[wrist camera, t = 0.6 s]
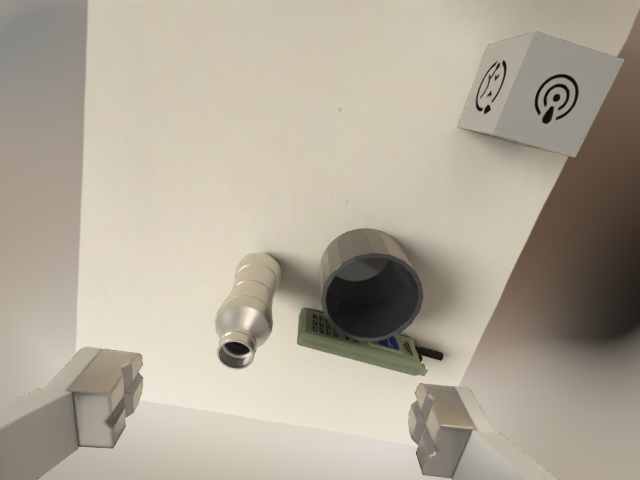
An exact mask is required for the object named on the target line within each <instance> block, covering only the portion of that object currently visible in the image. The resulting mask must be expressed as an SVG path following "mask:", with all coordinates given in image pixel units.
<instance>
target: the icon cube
mask: <svg viewBox="0 0 640 480" xmlns="http://www.w3.org/2000/svg"><path fill="white" fill-rule="evenodd" d="M623 62H624V59H621V58H618V57H615V56H612V55H609V54H605V53H602V52H599V51H596V50H593V49H590V48H587V47H584V46H581V45H578V44H575V43H571V42H568V41H565V40H562V39H559V38H556V37H553V36H550V35H547V34H544V33H541V32H537V31H533V32H530V33H526V34H523V35H519V36H516V37H513V38H509V39H506V40H502V41H499V42H495V43H492V44H488V47H487V49H486V52H485V54H484V57H483V60H482V62H481V65H480V68H479V70H478V73H477V76H476V78H475V81H474V83H473V86H472V89H471V91H470V94H469V97H468V99H467V102H466V105H465V107H464V110H463V112H462V115H461V118H460V120H459V123H458V126H457V127H460V128H463V129H467V130H470V131H474V132H477V133H481V134H485V135H488V136H492V137H495V138H499V139H502V140H506V141H509V142H513V143H517V144H520V145H524V146H528V147H532V148H536V149H541V150H545V151H549V152H554V153H558V154H563V155H567V156H571V157H576V155H577V153H578V151H579V149H580V147H581V145H582V143H583V141H584V139H585V137H586V135H587V133H588V131H589V129H590V127H591V125H592V123H593V121H594V119H595V117H596V115H597V113H598V111H599V110H600V108H601V106H602V104H603V101H604V100H605V98H606V96H607V94H608V92H609V90H610V88H611V86H612V84H613V82H614V80H615V78H616V76H617V74H618V72H619V70H620V68H621V66H622V64H623Z"/></svg>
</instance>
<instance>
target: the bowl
mask: <svg viewBox="0 0 640 480" xmlns="http://www.w3.org/2000/svg"><path fill="white" fill-rule="evenodd" d="M320 290H321V304H322V308H323V313H324V316H325V317H326V319H327V320H328V322H329V323H330V325H331V326H332V327H333V328H334V329H335V330H337V331H338V332H339V333H340V334H342V335H343V336H346V337H349V338H351V339H354V340H358V341H369V342H372V341H378V340H384V339H387V338H390V337H392V336H394V335H396V334H398V333H400V332H402V331H403V330H404V329H405V328H406V327H408V326H409V325H410V324H411V323H412V322H413V320H414V319H415V317H416V316H417V314H418V313H419V311H420V308H421V304H422V300H423V291H422V283H421V281H420V279H419V277H418V275H417V273H416V271H415V269H414V268H413V266H412V264H411V263H410V261H409V259H408V258H407V256H406V254H405V253H404V251H403V249H402V248H401V246H400V245H399V244H398V243H397V242H396V241H395V240H394V239H393V238H392V237H391V236H389V235H387V234H386V233H383V232H381V231H378V230H373V229H357V230H352V231H349V232H347V233H345V234H342V235H341V236H339V237H338V238H336V239H335V240H334V241H333V242H332V243H331V244H330V245H329V246H328V247H327V249H326V250H325V252H324V254H323V256H322V259H321V263H320Z"/></svg>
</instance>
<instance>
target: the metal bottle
mask: <svg viewBox="0 0 640 480" xmlns="http://www.w3.org/2000/svg"><path fill="white" fill-rule="evenodd" d="M281 278H282V277H281V270H280V266H279V264H278V263H277V261H276V260H275V259H274V258H273V257H271V256H270V255H267V254H265V253H252V254H249V255H247V256H246V257H244V258H243V259H242V260H241V261H240V263H239V264H238V266H237V268H236V274H235V283H234V287H233V289H232V291H231V293H230V295H229V296H228V298H227V299H226V300H225V301H224V303H223V304H222V305H221V307H220V308H219V310H218V312H217V314H216V317H215V327H216V332H217V335H218V336H219V338H220V341H219V347H218V351H217V355H218V359H219V360H220V362H221V363H222V364H223V365H225V366H226V367H228V368H231V369H243V368H246V367H248V366H249V365H250V364H251V363H252V361H253V359H254V354H255V352H256V349H257V347H259V346H261V345H262V344H263V343H264V342H265V341H266V340H267V338H268V337H269V336H270V334H271V331H272V324H273V320H272V302H273V297H274V295H275V292H276V291H277V289H278V287H279V285H280V283H281Z"/></svg>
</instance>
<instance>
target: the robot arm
mask: <svg viewBox="0 0 640 480" xmlns="http://www.w3.org/2000/svg"><path fill="white" fill-rule="evenodd" d="M142 365H143V363H142V355H141V354H140V353H133V352H125V351H117V350H110V349H99V348H91V347H84V348H82V349H80V350H79V351H78V352H77V353H76V354H75V355H74V357H73V358H72V359H71V360H70V361H69V362H68V363H67V364H66V365H65V366H64V367H63V369H62V370H61V371H60V372H59V373H58V374H57V375H56V376H55V377H54V378H53V379H52V380H51V382H49V384H48V385H47V386H46V387H45V388H44V389H40V388H37V389H35V390H33V391H31V392H29V393H27V394H24V395H22V396H20V397H18V398H16V399H14V400H12V401H10V402H7V403H5V404H3V405H1V406H0V480H37V479H39V478H40V477H41V476H43V475H44V474H45V473H46V472H48V471H49V470H51V469H52V468H53V467H55V466H56V465H57V464H59V463H60V462H61V461H62V460H64V459H65V458H66V457H68V456H69V455H70V454H72V453H73V452H74V451H76V450H77V449H78V446H79V447H98V448H114V446H115V444H116V442H117V440H118V439H119V437H120V435H121V434H122V432H123V430H124V428H125V426H126V425H125V418H126V417H127V416H129V415H131V414H132V413H133V412H134V411H135V409H136V407H137V405H138V403H139V400H140V397H141V394H142V388H143V377H142V376H141V375H140V373H139V370H140V369H141V367H142ZM415 395H416V398H417V401H416V402H414V403H413V404H412V405H411V408H410V411H409V421H408V424H409V431H410V435H411V438H412V440H413V441H414V442H415V443H416V444H417V445H418V448H417V451H416V455H417V458H418V461H419V464H420V468H421V471H422V474H423V475H428V476H437V477H445V478H452V480H559V479H558V478H556V477H555V476H554V475H553V474H551V473H550V472H549V471H547V470H546V469H545V468H544V467H542V466H541V465H540V464H539V463H538V462H536V461H535V460H534V459H532V458H531V457H530V456H529V455H527V454H526V453H525V452H524V451H522V450H521V449H520V448H519V447H517V446H516V445H515V444H514V443H512V442H511V441H510V440H509V439H507V438H506V437H505V436H504V435H502V434H501V433H496V432H495V431H494V429H493V427H492V425H491V424H490V422H489V420H488V419H487V416H486V415H485V413H484V411H483V409H482V408H481V406H480V404H479V402H478V401H477V399H476V397H475V395H474V394H473V392H472V390H471V389H469V388H467V387H456V386H452V387H451V386H442V385H432V384H422V383H420V384H419V385H418V386H417V389H416V392H415Z"/></svg>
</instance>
